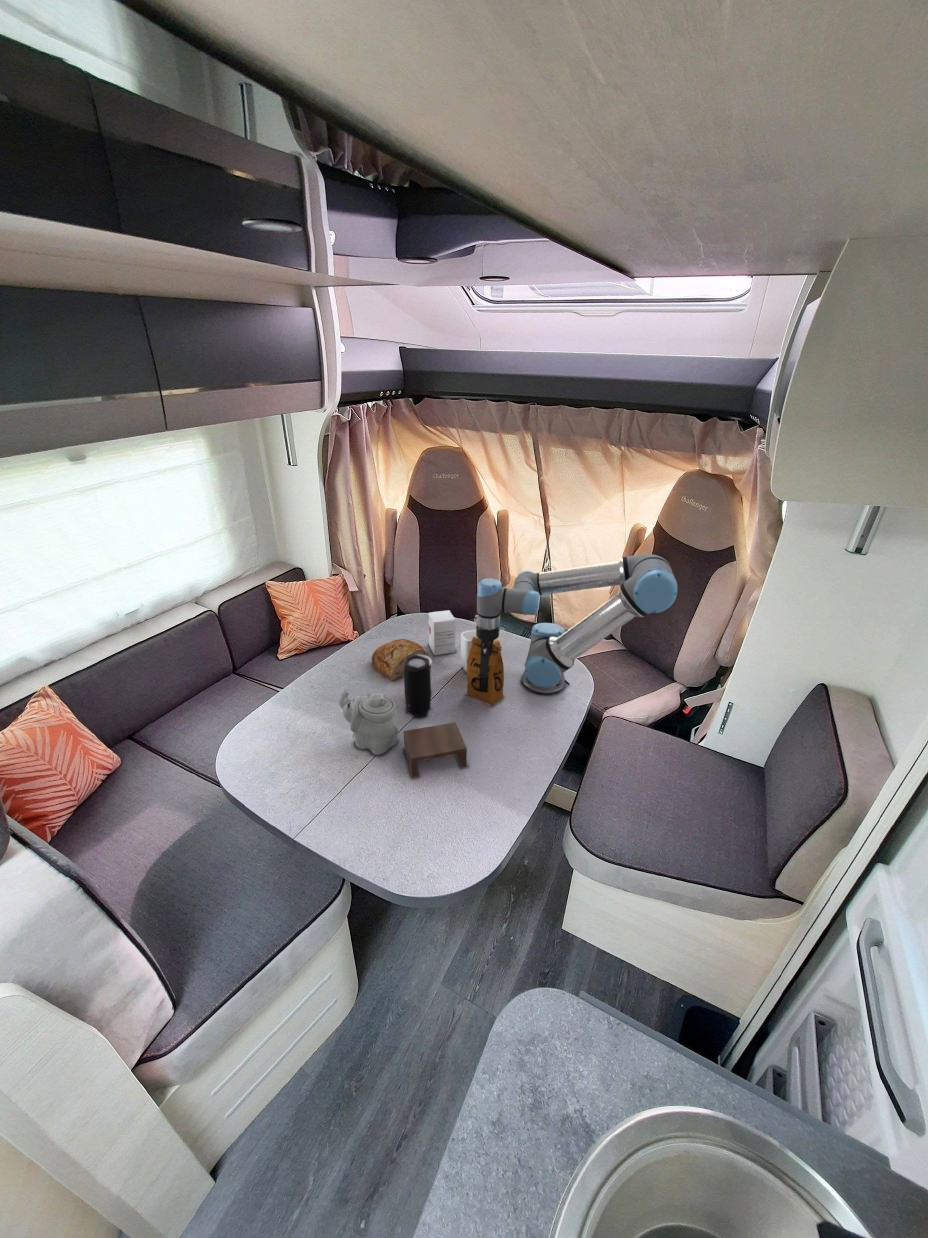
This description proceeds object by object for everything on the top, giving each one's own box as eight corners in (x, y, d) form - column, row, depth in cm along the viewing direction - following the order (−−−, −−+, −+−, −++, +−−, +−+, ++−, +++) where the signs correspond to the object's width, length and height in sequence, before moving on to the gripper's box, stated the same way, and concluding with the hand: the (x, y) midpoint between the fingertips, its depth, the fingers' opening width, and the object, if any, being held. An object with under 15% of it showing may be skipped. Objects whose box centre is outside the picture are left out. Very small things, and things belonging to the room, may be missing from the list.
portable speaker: (412, 722, 165) (409, 671, 156) (401, 706, 172) (398, 657, 163) (436, 714, 168) (435, 664, 159) (424, 699, 176) (423, 650, 166)
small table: (455, 740, 157) (455, 722, 154) (466, 767, 147) (466, 748, 144) (404, 749, 153) (403, 731, 150) (411, 777, 143) (411, 758, 140)
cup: (484, 672, 191) (485, 638, 184) (466, 676, 189) (467, 641, 182) (476, 662, 197) (477, 629, 190) (459, 666, 195) (459, 632, 188)
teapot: (341, 731, 160) (335, 681, 152) (388, 719, 166) (385, 670, 157) (353, 765, 147) (347, 713, 138) (403, 751, 152) (401, 700, 144)
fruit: (475, 639, 202) (494, 647, 196) (486, 629, 205) (505, 637, 199) (477, 651, 206) (496, 660, 200) (488, 642, 210) (507, 650, 204)
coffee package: (489, 710, 171) (492, 654, 161) (462, 695, 178) (463, 640, 168) (507, 697, 177) (511, 642, 167) (480, 683, 185) (482, 630, 175)
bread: (390, 684, 183) (388, 660, 179) (363, 663, 196) (361, 640, 191) (434, 664, 196) (434, 641, 191) (407, 645, 208) (406, 624, 203)
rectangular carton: (428, 644, 209) (427, 612, 202) (449, 641, 211) (449, 609, 204) (433, 656, 201) (433, 622, 194) (455, 652, 203) (456, 619, 197)
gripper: (481, 608, 176) (479, 661, 186) (471, 642, 155) (469, 700, 165) (502, 610, 175) (499, 663, 185) (495, 644, 154) (492, 703, 164)
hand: (485, 681), depth 175 cm, fingers closed on coffee package, 11 cm apart
